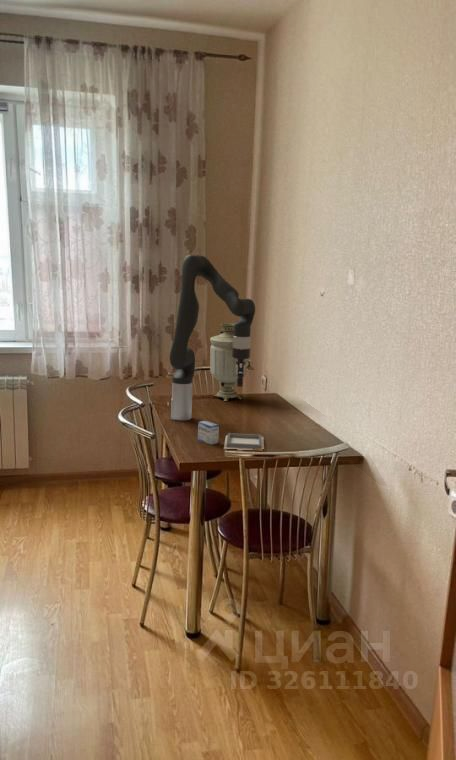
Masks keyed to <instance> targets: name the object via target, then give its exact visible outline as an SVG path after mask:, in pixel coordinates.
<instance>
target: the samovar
mask: <svg viewBox="0 0 456 760" xmlns="http://www.w3.org/2000/svg"><path fill="white" fill-rule="evenodd" d="M234 324H235V323H231V322H230V323H221V324H220V326H221V327H222V330H221V331H220V334H218V335H214V336H211V337H210V338H209V340H210V343H211V345H210V346H209V347H210V351H209V352H210V354H209V355H210V356H209V357H210V359H209V361H210V362H209V363H210V364H209V369H210V370H209V373H210V375H211V376H212V378H214V379H215V380H216V381H218V382H220V386H221V387H222V389H220V390H219V391H217V393H216V394H215V395H213V396H217V397H219V398H222V399H223V402H224V401H228V400H229V399H230V398H231V399H233V398H237V399H239V400H242V397H240V396H239V395H238V392H236V390H235V389H233V388H234V387H235V383H237V375H238V373H237V372H236V361H237V362H238V359H236V358H233V357H232V348H233V337H234ZM244 362H245V373H244V374H243V375H244V377H246V375H247V371H248V370H251V371H252V370H255V369H254V367H253V366H252V365H251V362H254V361H253V359H250V358H248V359H244ZM247 364H248V365H247ZM247 369H248V370H247ZM228 402H229V401H228Z"/></svg>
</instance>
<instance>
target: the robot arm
mask: <svg viewBox="0 0 456 760" xmlns="http://www.w3.org/2000/svg"><path fill="white" fill-rule="evenodd" d="M197 277H199V278H200V277H202V278H203V279H205V280H206V281H208V282H209V283H210V285H211V286H212V289H213V291H214V294H216V296H217V297H218V298H220V299H221V300H222V301H223V302H224V303H225V304H226V307H227V308H228V310H229V311H230V313H232V315H234V316H236V317H239V320H238V321H236V322H235V323H233V324H234V337H233V348H232V357H233V358H236V359H238V362H237V361H236V372H237V373H238V375H237V382H236V383H237V384H236V385H237V387H238V388H242V387H243V382H244V378H245V376H244V375H243V374H244V373H245V362H244V359H247V360H248V359H250V358H251V345H252V344H251V343H252V342H251V327H252V324H253V321H254V317H255V314H256V305H255V302H254V301H253V300H252V299H251V298H239V297H240V296H239V295H240V294H239V292H238V290H237V289H236V288H234V286H232V285H231V284H230V283H229V282H228V281H227V280H226V279H225V278H224V277H223V276H222V275H221V274H220V273H219V271H218V270H217V269H216V268H215V267H214V265H213V263H212V262H211V261H210V260H209V259H208V258H207V257H206V256H204V255H201V254H200V255H198V254H188V255H186V256H185V258H184V260H183V261H182V265H181V286H180V294H179V303H178V306H177V307H178V308H177V315H176V324H175V329H174V337H173V342H172V344H171V347H170V353H169V364H170V365H171V367H172V368H174V369H176V371H175V373H174V374H173V375H172V378H171V381H172V382H171V398H170V400H171V401H170V404H171V405H170V420H174V421H189V420H191V419H192V412H193V411H192V409H193V407H192V405H193V378H194V376H195V368H196V367H195V366H196V356H195V351H194V350H193V349H192V348H191V347H188V344H189V341H190V337H191V335H192V333H193V331H194V329H195V327H196V325H197V323H198V319H199V318H198V317H199V312H200V303H199V300H198V297H197V295H196V291H195V286H196V285H195V284H196V278H197Z"/></svg>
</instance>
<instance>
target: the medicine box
mask: <svg viewBox="0 0 456 760" xmlns="http://www.w3.org/2000/svg"><path fill="white" fill-rule="evenodd" d="M197 424H198V425H197V426H198V427H197V441H199V442H202V443H204V444H208V445H210V446H212V445H215V444H218V443H219V433H220V431H219V428H220V425H219V424H218V423H214V422H211V421H208V420H201V421H199V422H198V423H197Z"/></svg>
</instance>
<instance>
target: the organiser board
mask: <svg viewBox="0 0 456 760" xmlns="http://www.w3.org/2000/svg"><path fill="white" fill-rule="evenodd" d="M264 441H265V439H264V436H262V434H254V433H233V432H232V433H231V432H228V433H227V435H225V440H224V444H223V445H224V447H223V450H226V449H237V450H236V451H242V450H253V449H252V448H258V449H264V450H265V445H264V444H265V442H264Z"/></svg>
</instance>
